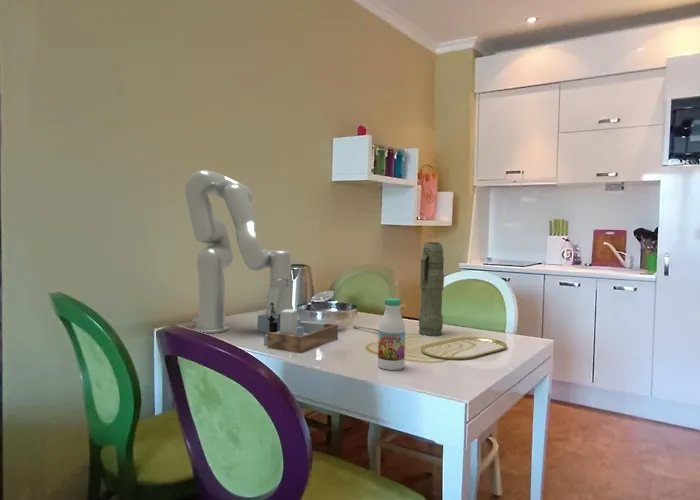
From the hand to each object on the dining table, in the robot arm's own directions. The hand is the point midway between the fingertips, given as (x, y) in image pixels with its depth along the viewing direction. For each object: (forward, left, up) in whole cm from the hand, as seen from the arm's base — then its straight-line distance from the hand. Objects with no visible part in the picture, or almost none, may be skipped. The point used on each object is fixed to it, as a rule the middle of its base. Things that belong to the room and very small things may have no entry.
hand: (279, 330), depth 194 cm
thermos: (+48, +31, -1) cm, 57 cm away
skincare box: (+14, -15, -1) cm, 20 cm away
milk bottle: (+53, -20, -1) cm, 57 cm away
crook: (-1, -7, -1) cm, 7 cm away
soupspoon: (+29, +21, -2) cm, 36 cm away
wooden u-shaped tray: (+15, -8, -1) cm, 17 cm away
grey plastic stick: (+9, +8, -1) cm, 13 cm away
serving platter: (+66, +13, -2) cm, 67 cm away
